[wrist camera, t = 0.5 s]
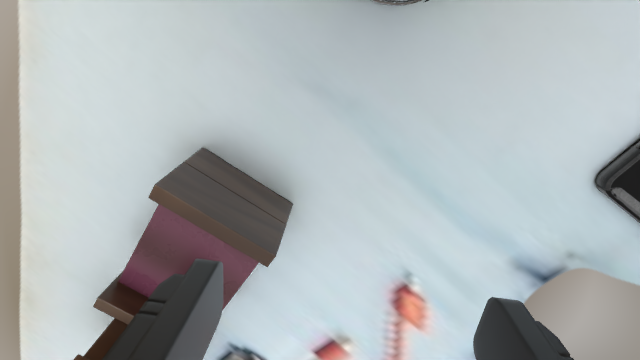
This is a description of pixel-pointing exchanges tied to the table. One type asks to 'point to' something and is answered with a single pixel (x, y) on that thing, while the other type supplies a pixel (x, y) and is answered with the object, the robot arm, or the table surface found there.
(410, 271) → the table surface
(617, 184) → the phone
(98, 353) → the walnut shelf
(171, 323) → the robot arm
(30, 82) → the table surface
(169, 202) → the cushioned bench
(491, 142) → the table surface
